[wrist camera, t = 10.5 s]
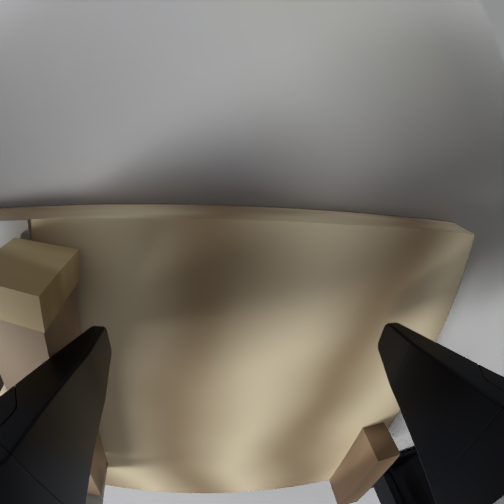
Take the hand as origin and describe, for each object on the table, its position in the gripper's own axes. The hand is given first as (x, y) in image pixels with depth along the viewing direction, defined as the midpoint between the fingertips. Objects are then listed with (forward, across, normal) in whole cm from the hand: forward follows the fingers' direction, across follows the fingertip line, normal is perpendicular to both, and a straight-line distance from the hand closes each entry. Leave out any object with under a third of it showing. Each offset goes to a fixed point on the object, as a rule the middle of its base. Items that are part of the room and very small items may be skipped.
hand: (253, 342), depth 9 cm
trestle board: (+3, +2, +6) cm, 7 cm away
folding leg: (+1, +7, +3) cm, 8 cm away
